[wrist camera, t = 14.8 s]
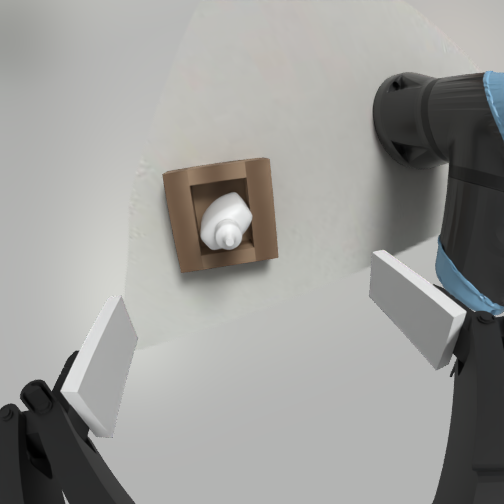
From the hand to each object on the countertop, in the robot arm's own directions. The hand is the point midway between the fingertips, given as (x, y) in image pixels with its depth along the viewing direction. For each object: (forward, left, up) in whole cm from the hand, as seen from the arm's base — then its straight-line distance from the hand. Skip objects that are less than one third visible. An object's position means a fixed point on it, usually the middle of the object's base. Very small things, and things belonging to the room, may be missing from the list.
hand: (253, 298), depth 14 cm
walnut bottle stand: (+1, +1, -24) cm, 24 cm away
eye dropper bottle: (0, +1, -23) cm, 23 cm away
